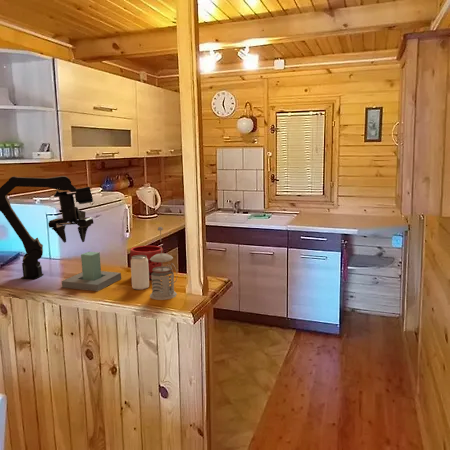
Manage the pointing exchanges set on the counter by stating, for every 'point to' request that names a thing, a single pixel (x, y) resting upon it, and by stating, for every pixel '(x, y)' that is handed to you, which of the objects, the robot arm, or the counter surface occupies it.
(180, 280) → the counter surface
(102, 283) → the socket plate
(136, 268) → the can
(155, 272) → the french press
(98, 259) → the plug block
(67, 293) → the counter surface
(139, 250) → the plant pot
